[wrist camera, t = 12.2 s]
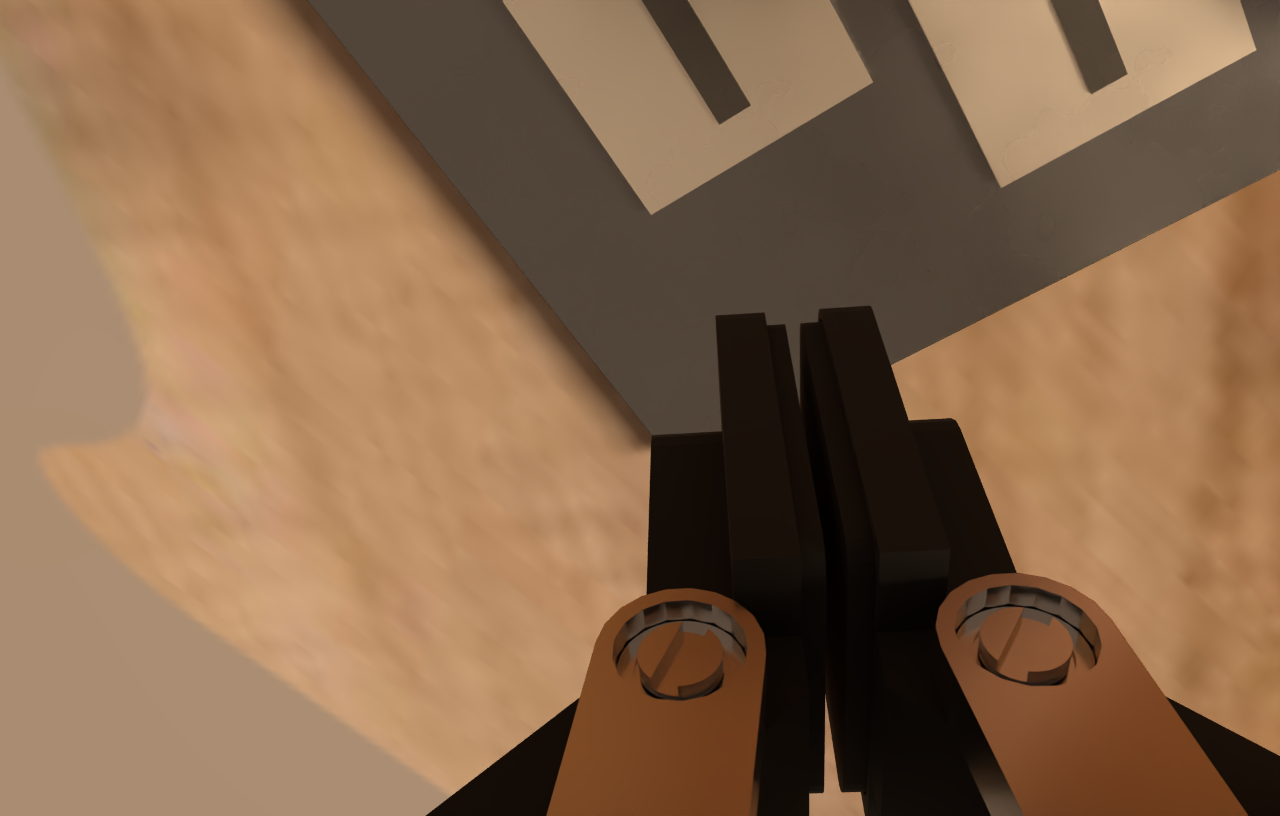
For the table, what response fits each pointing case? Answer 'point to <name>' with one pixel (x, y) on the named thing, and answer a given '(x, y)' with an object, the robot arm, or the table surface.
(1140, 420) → the table surface
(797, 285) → the panel
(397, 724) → the table surface
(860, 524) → the robot arm
